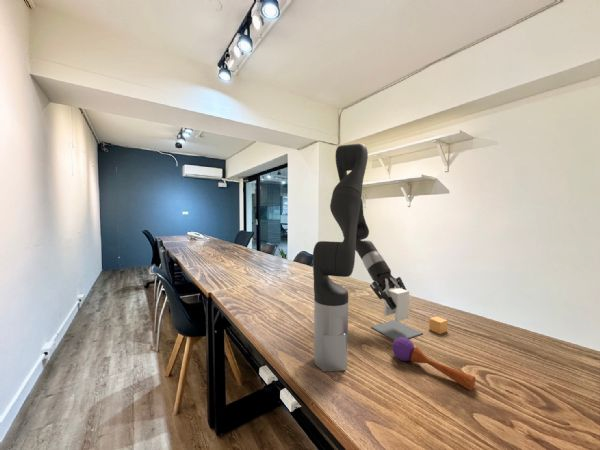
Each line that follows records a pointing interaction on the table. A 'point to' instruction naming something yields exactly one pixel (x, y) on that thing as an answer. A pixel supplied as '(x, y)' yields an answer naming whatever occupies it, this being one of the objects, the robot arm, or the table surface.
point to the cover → (398, 304)
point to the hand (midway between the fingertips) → (400, 306)
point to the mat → (396, 330)
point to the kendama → (429, 362)
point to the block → (438, 325)
